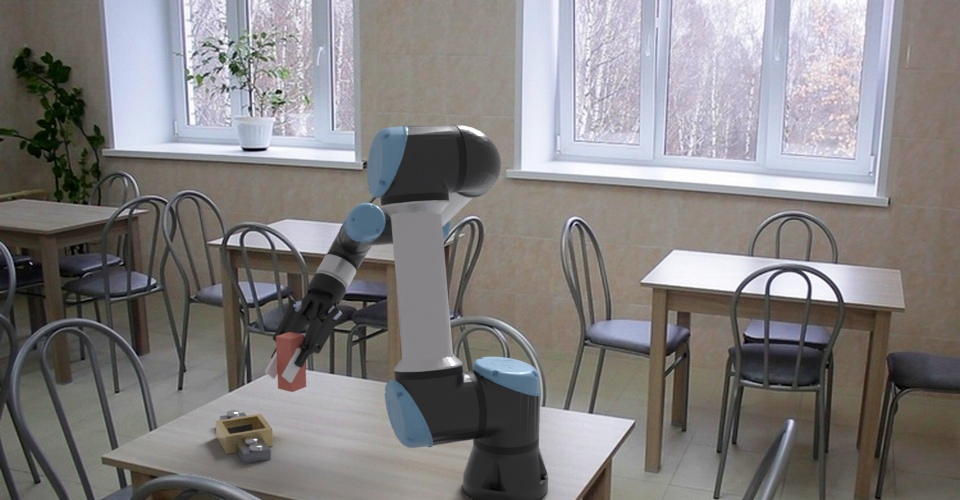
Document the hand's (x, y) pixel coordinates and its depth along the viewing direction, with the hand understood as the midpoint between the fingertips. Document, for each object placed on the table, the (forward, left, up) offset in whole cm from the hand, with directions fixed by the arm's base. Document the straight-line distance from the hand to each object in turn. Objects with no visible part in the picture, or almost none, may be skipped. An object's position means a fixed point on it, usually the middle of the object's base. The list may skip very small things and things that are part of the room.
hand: (278, 377), depth 196 cm
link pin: (+2, -3, -3) cm, 5 cm away
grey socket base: (-2, +8, -12) cm, 14 cm away
